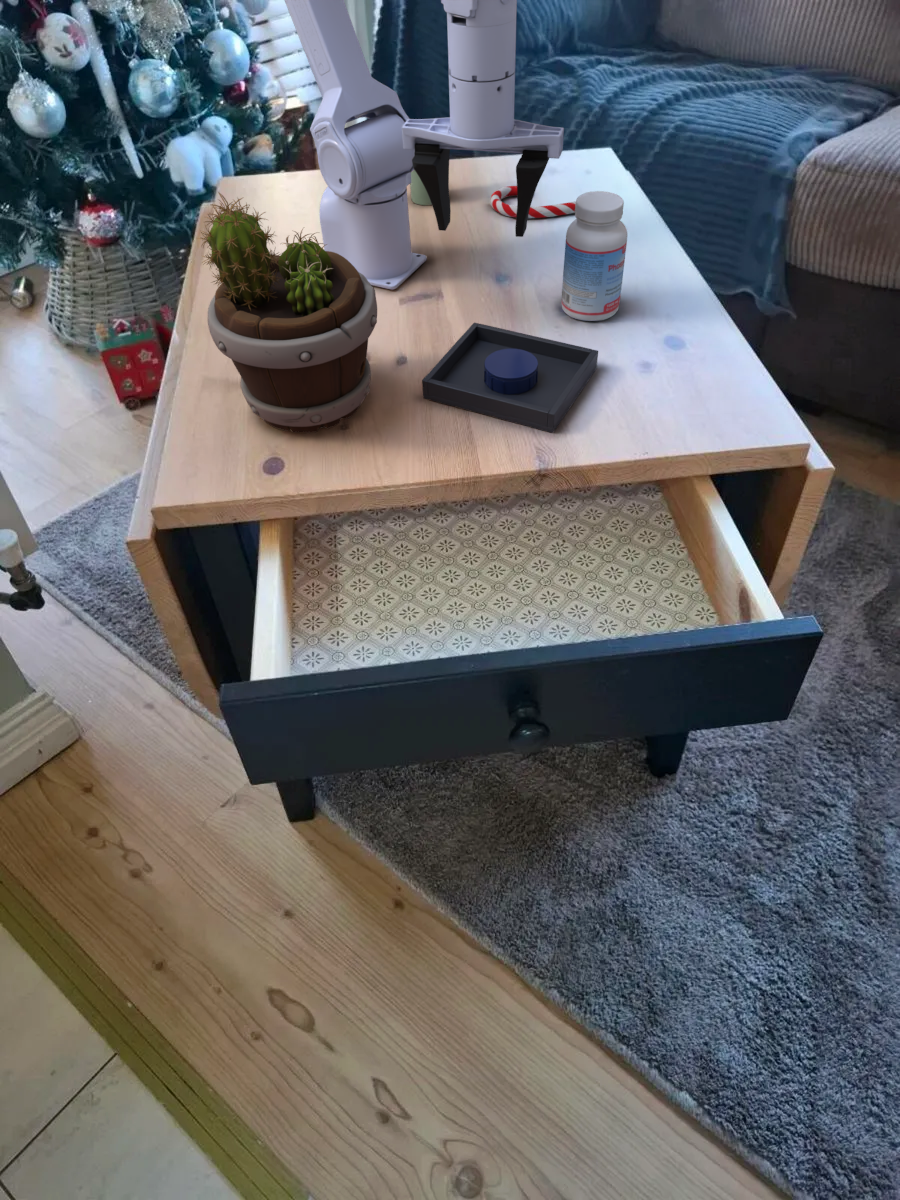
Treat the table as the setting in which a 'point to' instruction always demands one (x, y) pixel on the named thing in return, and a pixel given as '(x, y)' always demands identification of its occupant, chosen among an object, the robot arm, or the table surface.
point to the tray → (538, 407)
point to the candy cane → (534, 211)
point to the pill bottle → (594, 257)
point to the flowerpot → (289, 323)
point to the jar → (418, 191)
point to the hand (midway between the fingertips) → (482, 229)
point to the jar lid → (511, 371)
